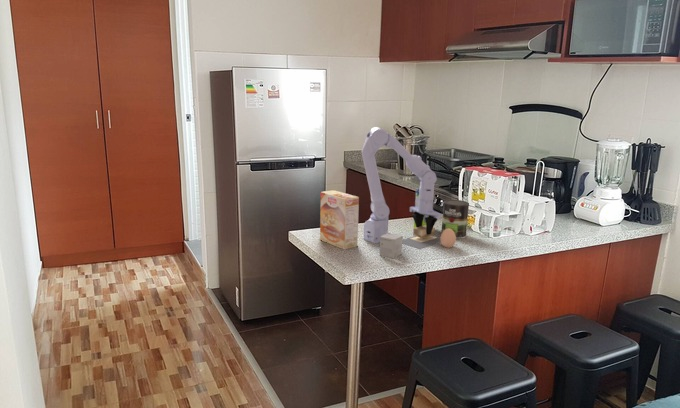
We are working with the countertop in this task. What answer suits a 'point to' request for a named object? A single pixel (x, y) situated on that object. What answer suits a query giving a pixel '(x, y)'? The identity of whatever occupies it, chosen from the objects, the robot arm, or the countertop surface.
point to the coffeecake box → (339, 219)
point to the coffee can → (455, 217)
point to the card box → (422, 232)
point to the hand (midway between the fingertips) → (423, 232)
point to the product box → (390, 245)
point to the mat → (421, 241)
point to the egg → (448, 238)
